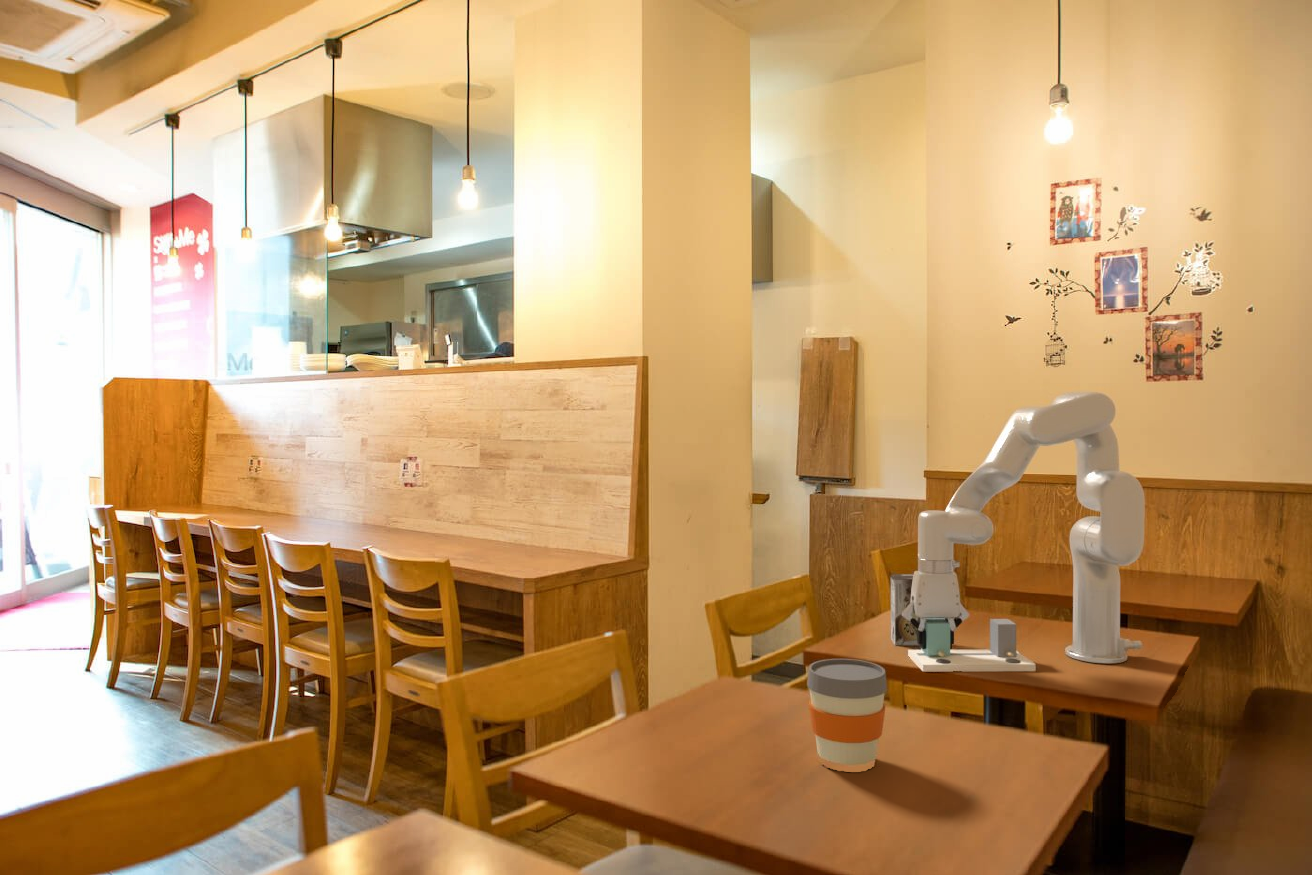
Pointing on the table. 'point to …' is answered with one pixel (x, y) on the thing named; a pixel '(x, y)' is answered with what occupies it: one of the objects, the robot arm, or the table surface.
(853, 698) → the reusable coffee cup
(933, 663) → the board
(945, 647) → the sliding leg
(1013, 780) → the table surface
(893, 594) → the coffee box
